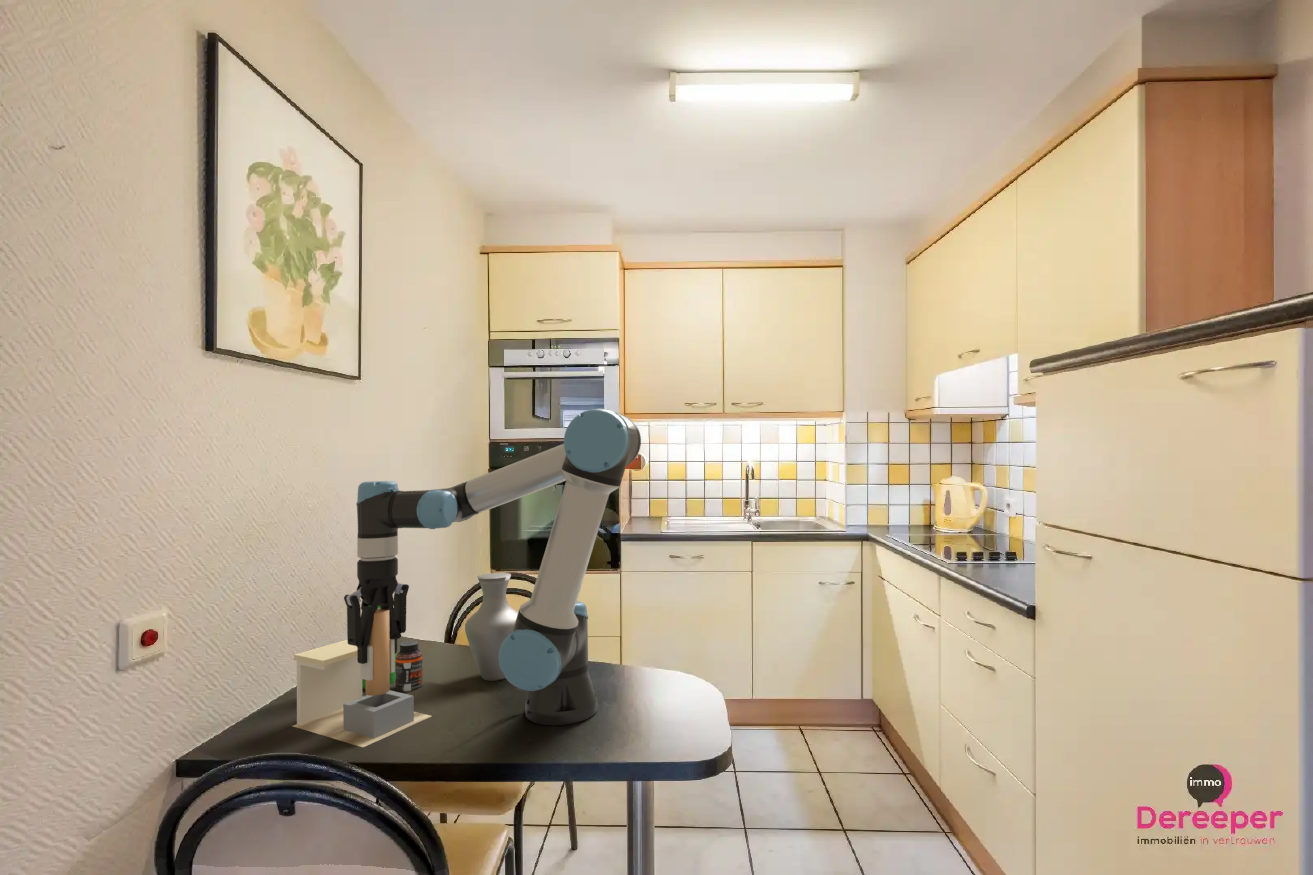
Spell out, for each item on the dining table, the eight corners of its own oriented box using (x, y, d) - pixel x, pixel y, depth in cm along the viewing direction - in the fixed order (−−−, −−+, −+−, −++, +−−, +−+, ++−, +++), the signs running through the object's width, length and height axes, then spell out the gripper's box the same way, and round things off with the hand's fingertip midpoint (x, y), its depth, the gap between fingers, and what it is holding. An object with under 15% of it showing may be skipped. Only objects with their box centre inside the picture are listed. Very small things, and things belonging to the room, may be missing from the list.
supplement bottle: (413, 697, 146) (412, 647, 146) (390, 695, 147) (389, 646, 147) (427, 688, 152) (427, 639, 152) (405, 686, 153) (404, 639, 153)
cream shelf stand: (389, 706, 137) (388, 640, 137) (323, 733, 124) (323, 660, 124) (360, 699, 142) (360, 635, 142) (294, 724, 128) (293, 654, 129)
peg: (394, 689, 128) (394, 609, 129) (375, 696, 125) (375, 614, 125) (379, 686, 130) (379, 607, 131) (360, 693, 127) (360, 612, 127)
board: (432, 721, 131) (432, 715, 131) (363, 753, 117) (363, 747, 117) (362, 704, 142) (362, 698, 142) (292, 731, 128) (292, 725, 128)
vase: (485, 665, 168) (483, 569, 169) (535, 668, 164) (533, 570, 165) (453, 684, 154) (452, 579, 155) (507, 688, 150) (505, 581, 151)
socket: (413, 720, 129) (413, 695, 129) (374, 738, 121) (373, 711, 121) (383, 713, 133) (383, 688, 134) (343, 729, 125) (343, 703, 126)
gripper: (401, 551, 138) (401, 660, 137) (325, 562, 123) (325, 685, 122) (425, 552, 134) (425, 665, 133) (350, 565, 119) (350, 692, 118)
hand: (377, 674), depth 128 cm, fingers closed on peg, 4 cm apart
